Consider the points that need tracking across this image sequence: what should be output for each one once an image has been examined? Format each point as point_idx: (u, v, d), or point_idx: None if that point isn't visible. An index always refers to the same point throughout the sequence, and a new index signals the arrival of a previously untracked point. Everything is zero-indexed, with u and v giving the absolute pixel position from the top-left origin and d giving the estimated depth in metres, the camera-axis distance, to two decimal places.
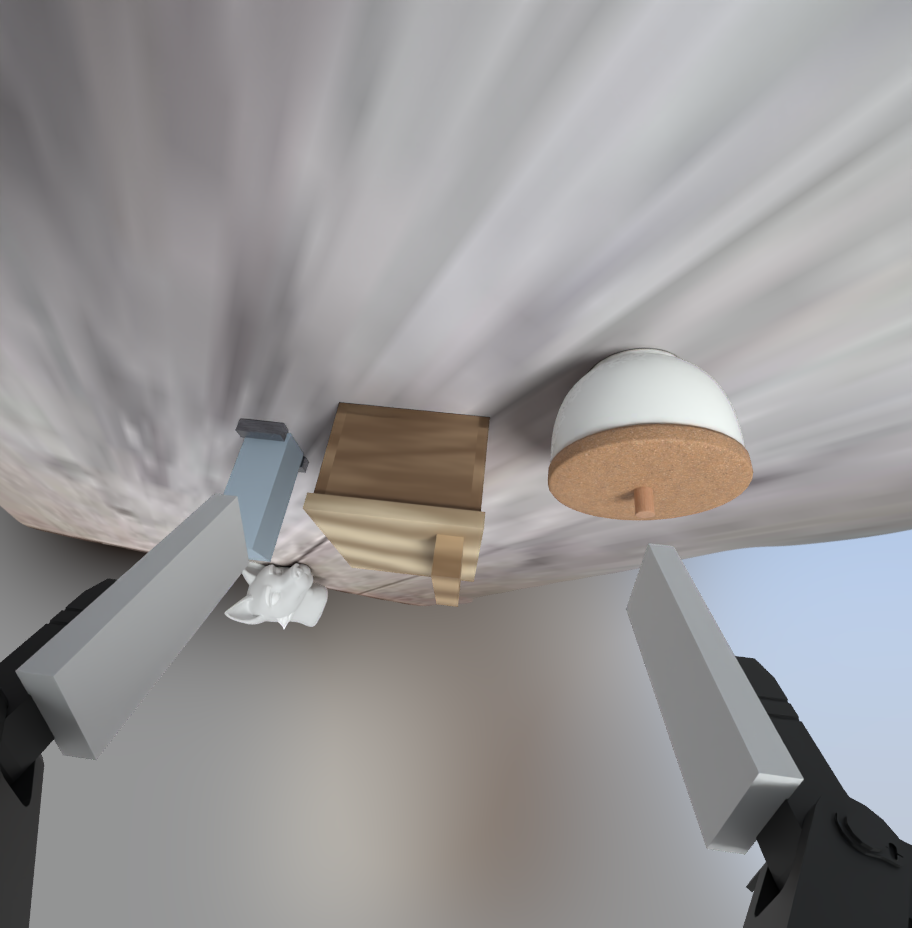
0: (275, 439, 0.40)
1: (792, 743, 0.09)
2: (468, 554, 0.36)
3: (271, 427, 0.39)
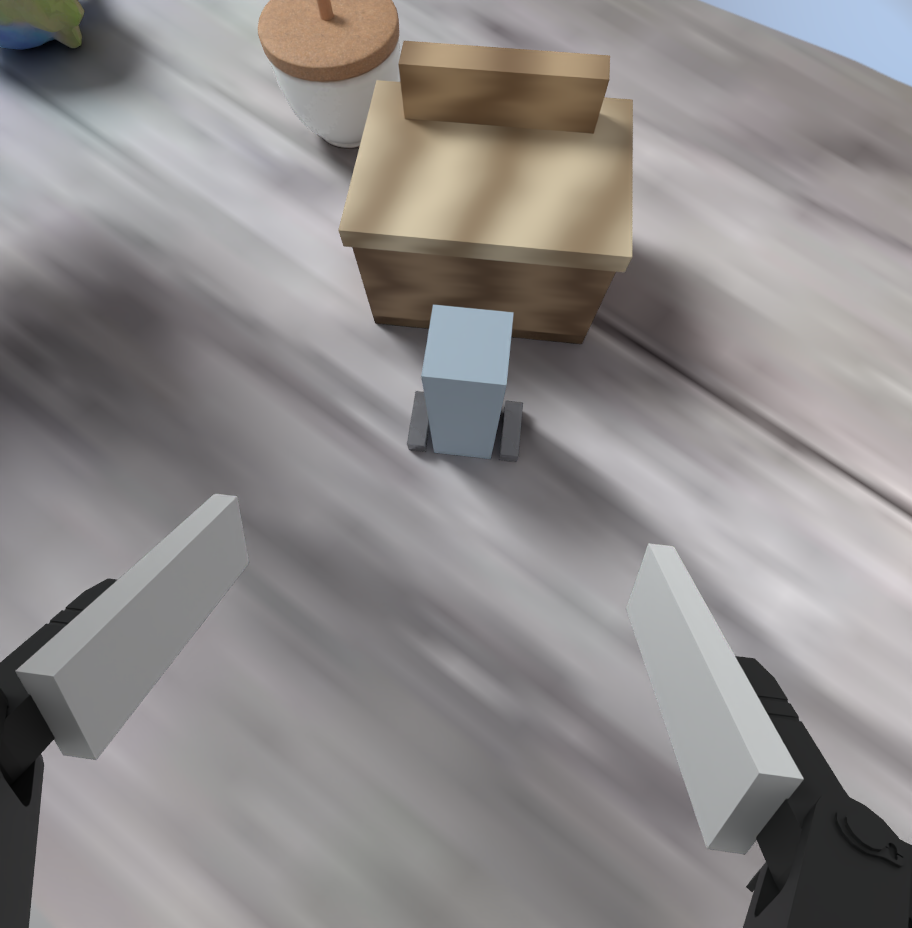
0: None
1: (792, 743, 0.09)
2: None
3: None
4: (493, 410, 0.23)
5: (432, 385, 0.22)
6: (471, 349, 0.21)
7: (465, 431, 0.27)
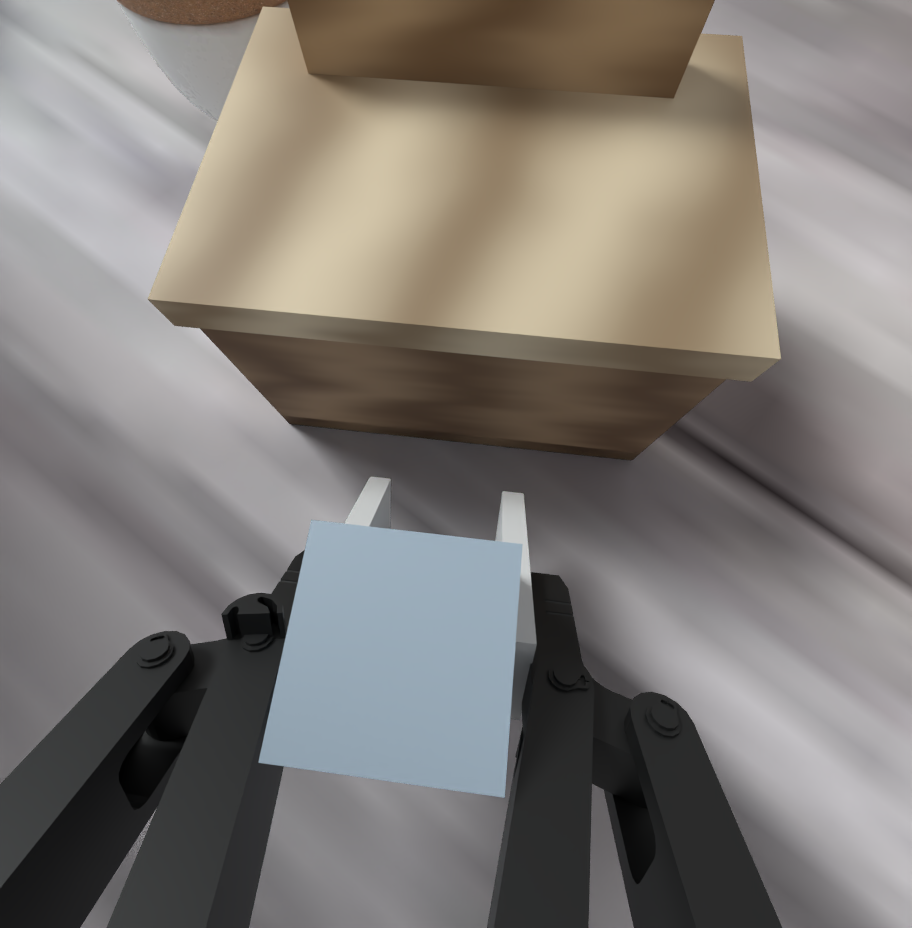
0: None
1: (557, 630, 0.11)
2: None
3: None
4: None
5: None
6: (406, 668, 0.08)
7: None
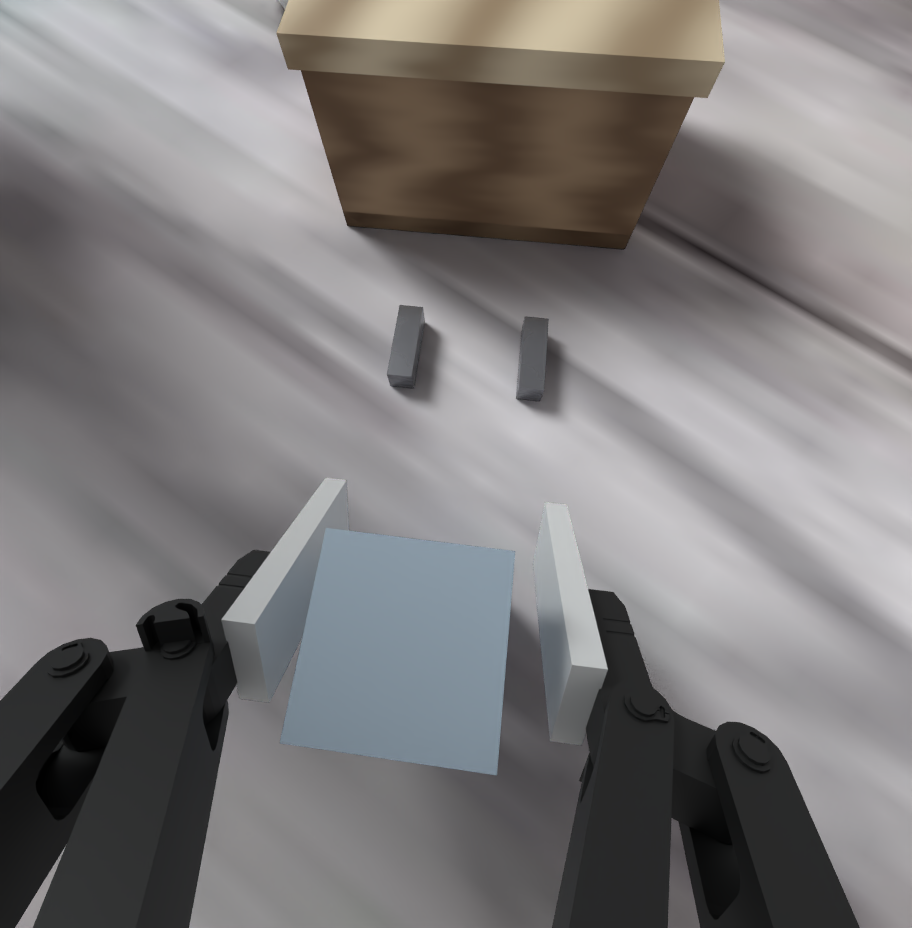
0: (416, 319, 0.22)
1: (620, 652, 0.11)
2: None
3: None
4: None
5: None
6: (410, 661, 0.09)
7: None
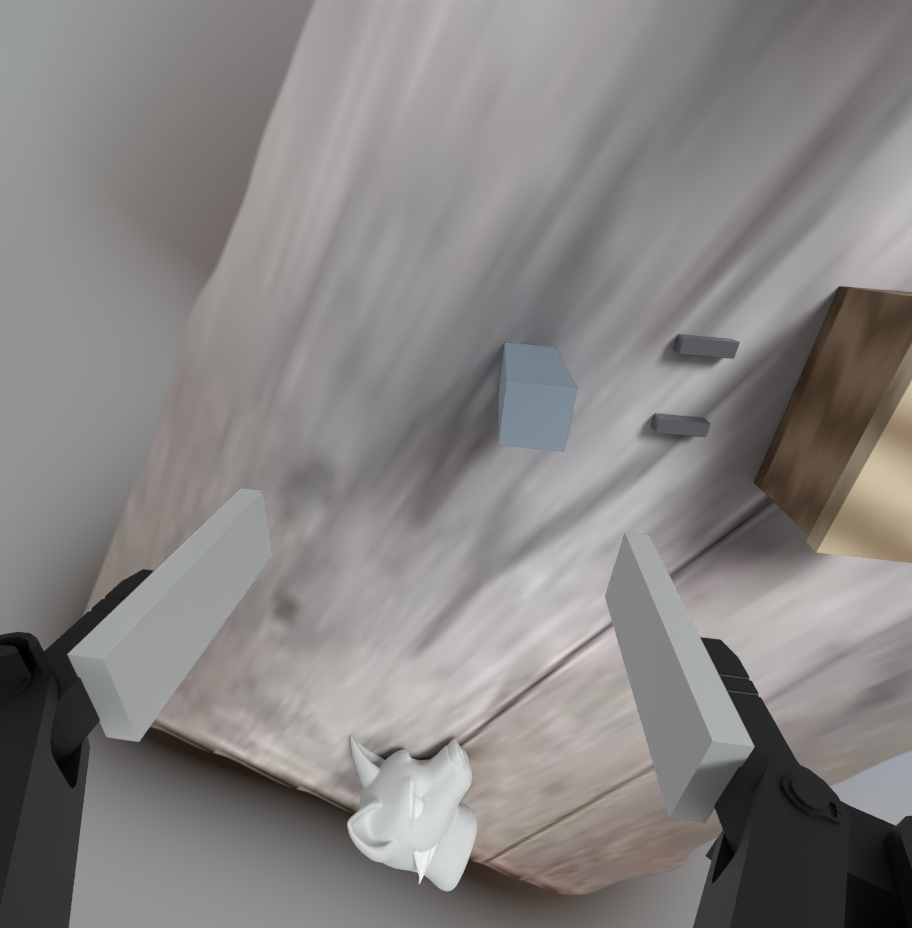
0: (724, 354, 0.33)
1: (750, 716, 0.09)
2: None
3: (722, 339, 0.33)
4: (499, 421, 0.30)
5: (505, 385, 0.26)
6: (530, 419, 0.26)
7: (501, 386, 0.32)
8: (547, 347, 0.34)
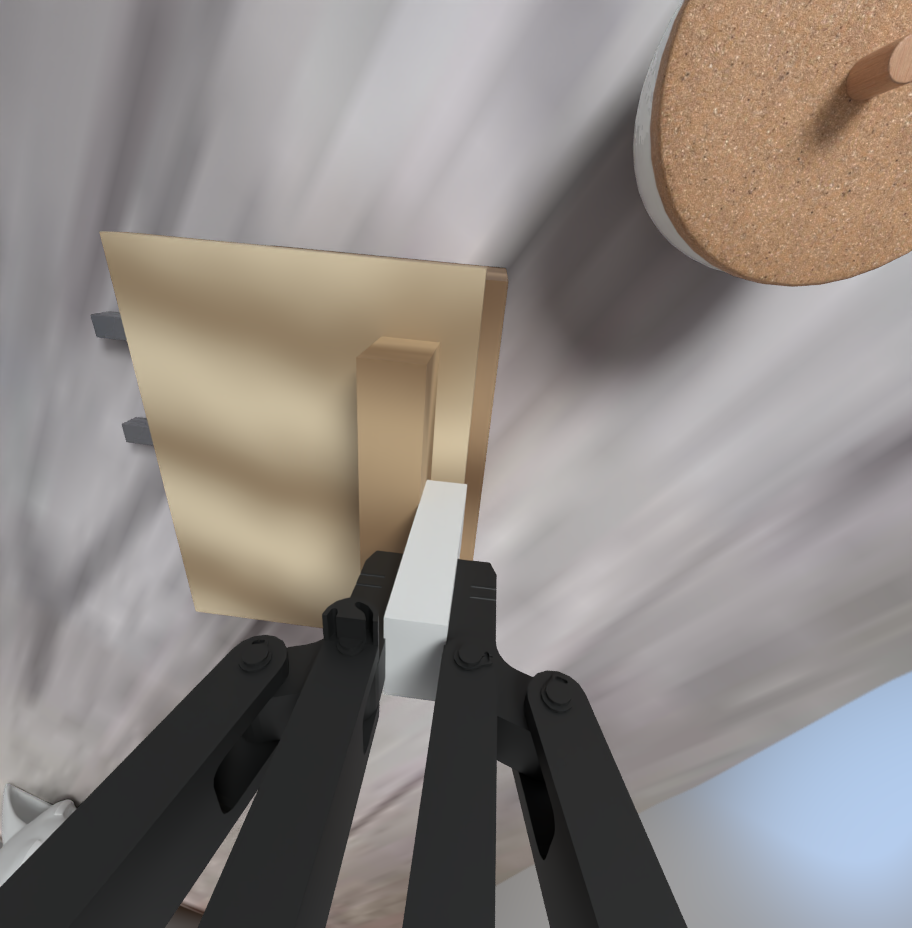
0: None
1: (477, 614, 0.11)
2: (444, 461, 0.17)
3: None
4: None
5: None
6: None
7: None
8: None
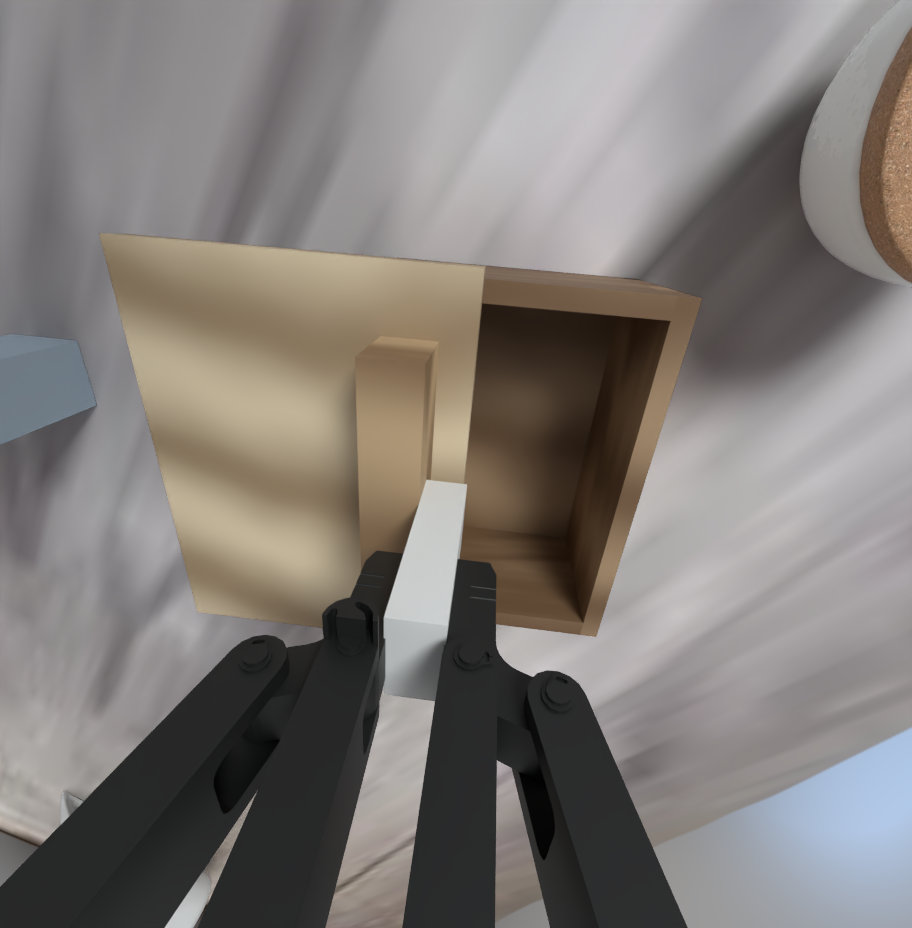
0: None
1: (477, 614, 0.11)
2: (444, 460, 0.17)
3: None
4: None
5: None
6: None
7: None
8: (58, 341, 0.26)
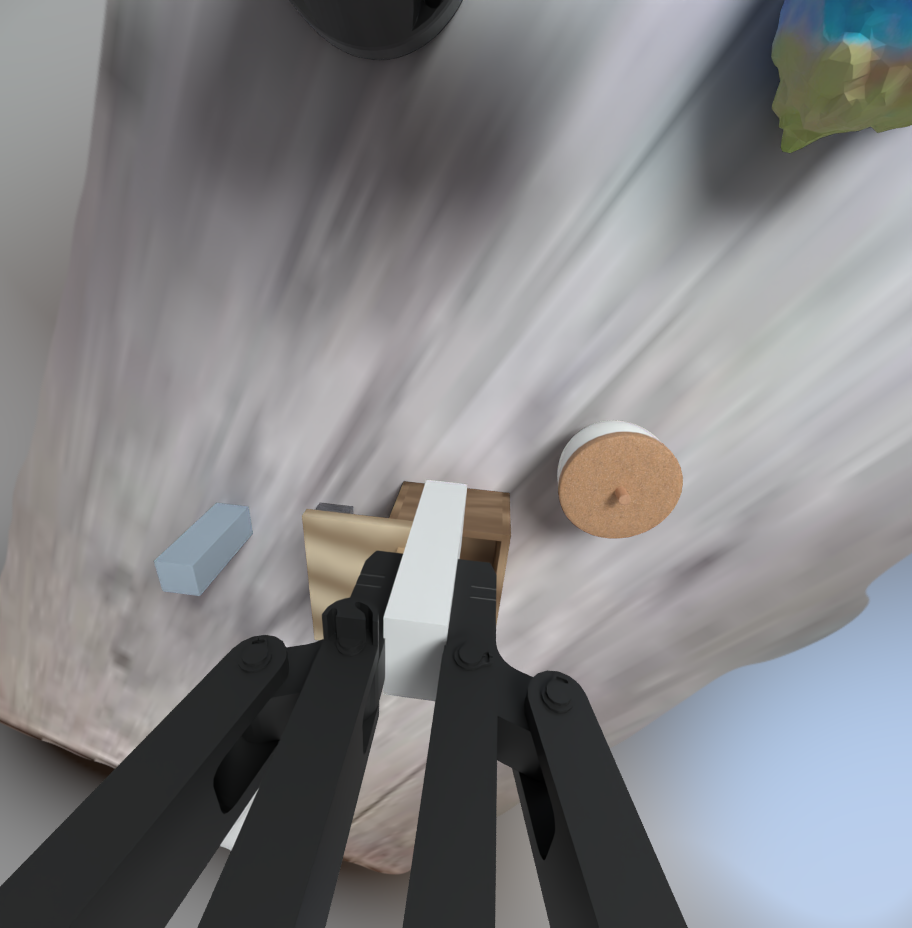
0: None
1: (477, 614, 0.11)
2: None
3: (343, 508, 0.52)
4: None
5: None
6: (174, 579, 0.45)
7: None
8: (240, 508, 0.53)
